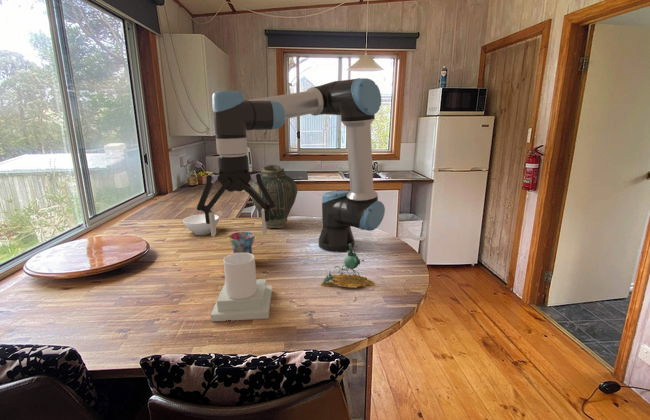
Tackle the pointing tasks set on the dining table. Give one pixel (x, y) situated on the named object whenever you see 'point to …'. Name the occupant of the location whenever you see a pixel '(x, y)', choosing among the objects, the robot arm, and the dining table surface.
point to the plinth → (244, 313)
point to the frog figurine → (347, 280)
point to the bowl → (198, 224)
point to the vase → (277, 194)
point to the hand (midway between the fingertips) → (239, 233)
